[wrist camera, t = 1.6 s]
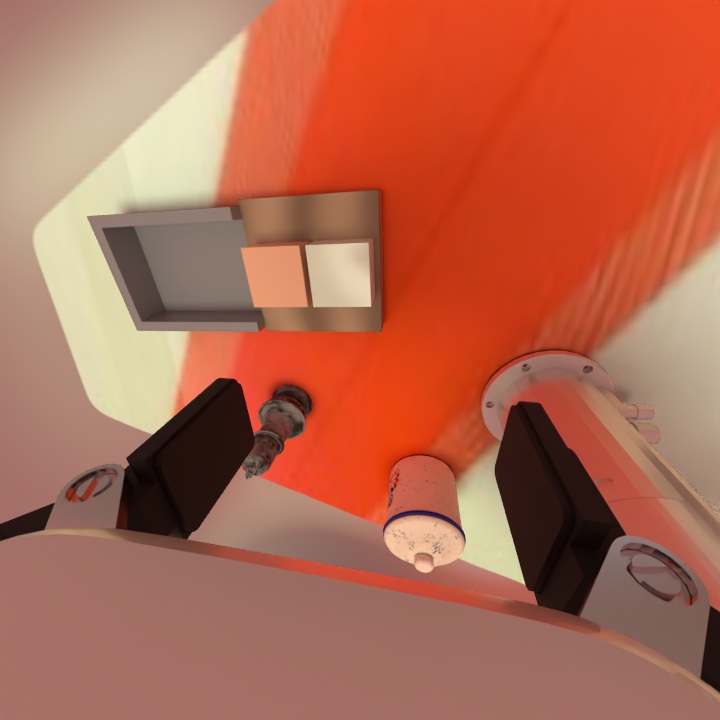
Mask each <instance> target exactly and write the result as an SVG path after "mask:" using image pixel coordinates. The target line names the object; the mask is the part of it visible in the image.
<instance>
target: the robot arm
mask: <svg viewBox="0 0 720 720" xmlns="http://www.w3.org/2000/svg"><path fill="white" fill-rule="evenodd" d="M524 364H525V365H524ZM480 411H481V414H482V418H483V421H484V423H485V426H486V427H487V429H488V430H489V431H490V433H491V434H492V435H493V436H494V437H496V438H497V439H498V440H499V441H501V445H500V449H499V453H498V457H497V460H496V464H495V477H496V481H497V484H498V488H499V492H500V495H501V499H502V502H503V506H504V509H505V513H506V517H507V520H508V524H509V527H510V531H511V535H512V538H513V542H514V545H515V549H516V552H517V556H518V560H519V563H520V567H521V570H522V574H523V577H524V581H525V584H526V587H527V588H528V590H529V591H534V593H535V597H536V600H537V603H538V605H534V604H530V603H525V602H521V601H515V600H510V599H505V598H500V597H496V596H491V595H486V594H481V593H476V592H471V591H467V590H462V589H457V588H451V587H446V586H441V585H435V584H430V583H425V582H419V581H413V580H409V579H403V578H398V577H392V576H386V575H382V574H376V573H371V572H365V571H360V570H355V569H349V568H344V567H338V566H332V565H327V564H322V563H315V562H310V561H305V560H299V559H294V558H288V557H282V556H277V555H271V554H266V553H260V552H255V551H248V550H243V549H238V548H232V547H226V546H220V545H215V544H209V543H203V542H197V541H191V540H187V539H188V537H189V536H190V534H191V533H192V532H194V531H196V530H197V529H198V528H199V527H200V525H201V524H202V522H203V521H204V519H205V518H206V516H207V515H208V514H209V512H210V510H211V509H212V508H213V506H214V505H215V503H216V502H217V500H218V499H219V497H220V496H221V494H222V493H223V491H224V490H225V488H226V487H227V485H228V484H229V483H230V481H231V479H232V478H233V477H234V475H235V474H236V472H237V471H238V469H239V468H240V466H241V465H242V463H243V462H244V461H245V459H246V458H247V456H248V455H249V453H250V452H251V450H252V449H253V447H254V443H255V438H254V434H253V430H252V426H251V422H250V418H249V414H248V410H247V405H246V401H245V397H244V393H243V389H242V386H241V384H239V383H238V382H237V381H236V380H235V379H227V378H218V379H217V380H215V381H214V382H213V383H212V384H211V385H210V386H209V387H207V388H206V389H205V390H204V391H203V392H202V393H201V394H199V395H198V396H197V397H196V398H195V399H194V400H192V401H191V402H190V403H189V404H188V405H187V406H186V407H184V408H183V409H182V410H181V411H180V412H179V413H178V414H176V415H175V416H174V417H173V418H172V419H171V420H169V421H168V422H167V423H166V424H165V425H164V426H163V427H161V428H160V429H159V430H158V431H157V432H156V433H155V434H153V435H152V436H151V437H150V438H149V439H148V440H146V441H145V442H144V443H143V444H142V445H141V446H140V447H138V448H137V449H136V450H135V451H134V452H133V453H132V454H130V456H128V457H127V458H126V459H127V461H128V463H129V466H128V467H127V468H126V469H124V468H123V467H122V466H121V465H118V464H105V465H101V466H97V467H95V468H92V469H90V470H87V471H85V472H84V473H82V474H80V475H78V476H77V477H75V478H74V479H73V480H71V481H70V482H69V483H68V484H67V485H66V486H65V487H64V488H63V489H62V490H61V491H60V493H59V495H58V496H57V499H56V502H55V503H53V504H50V505H48V506H45V507H43V508H40V509H37V510H35V511H33V512H30V513H27V514H25V515H22V516H20V517H17V518H14V519H12V520H9V521H7V522H4V523H2V524H0V720H720V516H719V515H718V514H717V513H716V512H715V511H714V510H713V509H712V508H711V507H710V506H709V505H708V504H707V503H706V502H705V501H704V500H703V499H702V498H701V497H700V496H699V495H698V494H697V493H696V492H695V491H694V489H693V488H692V487H691V486H690V485H689V484H688V483H687V482H686V481H685V480H684V479H683V478H682V477H681V476H680V475H679V474H678V473H677V472H676V471H675V470H674V469H673V468H672V467H671V466H670V465H669V463H668V462H667V461H666V460H665V459H664V458H663V457H662V456H661V455H660V454H659V453H658V452H657V451H656V450H655V449H654V448H653V447H652V446H651V445H650V444H655V443H657V442H658V441H659V440H660V432H659V429H658V428H657V427H656V426H655V425H653V424H646V423H629V422H628V421H627V420H626V419H625V418H632V419H643V420H650V419H652V418H653V416H654V410H653V408H652V407H651V406H649V405H634V404H633V405H624V404H623V403H622V402H620V401H619V400H618V399H617V398H616V397H615V392H614V386H613V384H612V381H611V379H610V377H609V376H608V375H607V373H606V372H605V371H604V370H603V369H602V368H601V367H600V366H599V365H598V364H597V363H595V362H594V361H592V360H591V359H589V358H587V357H585V356H582V355H580V354H577V353H573V352H567V351H542V352H536V353H532V354H529V355H525V356H522V357H520V358H518V359H516V360H514V361H512V362H510V363H508V364H507V365H505V366H504V367H502V368H501V369H500V370H499V371H498V372H497V373H495V374H494V375H493V376H492V378H491V379H490V380H489V382H488V383H487V384H486V386H485V388H484V390H483V393H482V396H481V401H480Z"/></svg>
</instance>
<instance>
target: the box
mask: <svg viewBox="0 0 720 720" xmlns="http://www.w3.org/2000/svg"><path fill="white" fill-rule="evenodd" d="M87 218H88V220H89V222H90V225H91V227H92V229H93V231H94V234H95V236H96V238H97V240H98V243H99V245H100V247H101V249H102V252H103V254H104V256H105V259H106V261H107V263H108V265H109V268H110V270H111V272H112V274H113V277H114V279H115V281H116V283H117V286H118V288H119V290H120V293H121V295H122V297H123V299H124V302H125V304H126V306H127V308H128V311H129V313H130V315H131V317H132V320H133V322H134V324H135V326H136V329H137V331H225V332H259V331H260V330H262V329H263V328H264V327H265V322H264V317H263V313H262V308H261V307H254V304H253V300H252V295H251V291H250V287H249V282H248V278H247V274H246V270H245V265H244V261H243V257H242V252H241V248H242V247H246V246H248V245H247V240H246V236H245V231H244V226H243V222H242V217H241V213H240V208H239V206H237V207H219V208H204V209H189V210H174V211H159V212H144V213H129V214H114V215H99V216H87Z"/></svg>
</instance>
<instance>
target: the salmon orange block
mask: <svg viewBox="0 0 720 720" xmlns="http://www.w3.org/2000/svg"><path fill="white" fill-rule="evenodd" d="M309 243H311V241H297V242H274V243H256V244H253V245H249V246H246V247H242V248H241V252H242V257H243V261H244V265H245V270H246V274H247V278H248V282H249V287H250V291H251V295H252V300H253V304H254V307H309V305H310V304H311V303H312V302H313V300H312V293H311V285H310V278H309V271H308V263H307V256H306V248H305V245H307V244H309Z"/></svg>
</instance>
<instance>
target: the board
mask: <svg viewBox="0 0 720 720" xmlns="http://www.w3.org/2000/svg"><path fill="white" fill-rule="evenodd" d="M238 204H239V208H240V213H241V217H242V222H243V226H244V231H245V236H246V240H247V245H248V246H249V245H253V244H256V243H274V242H297V241H311V243H312V242H314V241H320V240H343V239H366V238H373V244H374V274H375V298H374V301H373V303H372V306H371V307H313V302H312V303H311V304H310V305H309V307H261V308H262V313H263V317H264V322H265V326H266V331H344V332H382V328H383V324H384V307H383V256H382V206H381V190H369V191H355V192H340V193H326V194H312V195H298V196H284V197H270V198H256V199H242V200H238Z"/></svg>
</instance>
